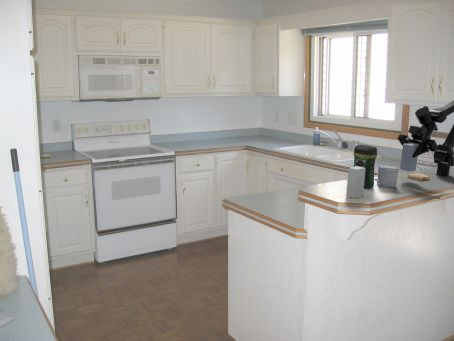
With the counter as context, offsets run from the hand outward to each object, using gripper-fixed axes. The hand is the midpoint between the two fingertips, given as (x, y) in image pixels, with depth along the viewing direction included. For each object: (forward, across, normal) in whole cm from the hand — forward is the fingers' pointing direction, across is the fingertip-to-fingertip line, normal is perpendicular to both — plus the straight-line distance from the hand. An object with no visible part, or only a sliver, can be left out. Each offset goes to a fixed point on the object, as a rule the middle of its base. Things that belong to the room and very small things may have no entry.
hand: (407, 156), depth 226 cm
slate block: (+4, 0, +6) cm, 7 cm away
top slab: (0, -1, +16) cm, 16 cm away
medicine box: (+19, 0, -1) cm, 19 cm away
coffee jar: (+27, -3, -9) cm, 29 cm away
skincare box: (+38, +6, -20) cm, 44 cm away
